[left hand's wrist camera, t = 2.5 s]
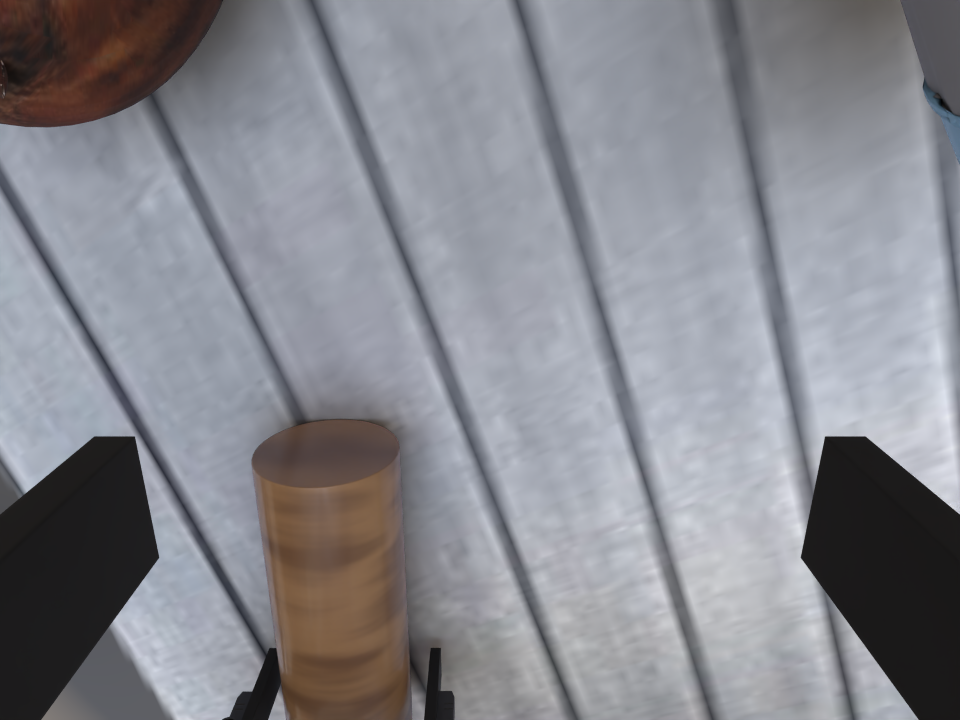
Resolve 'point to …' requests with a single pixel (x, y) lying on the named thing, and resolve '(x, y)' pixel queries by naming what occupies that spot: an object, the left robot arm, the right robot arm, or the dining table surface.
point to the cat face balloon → (91, 55)
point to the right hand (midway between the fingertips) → (356, 661)
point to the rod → (336, 569)
